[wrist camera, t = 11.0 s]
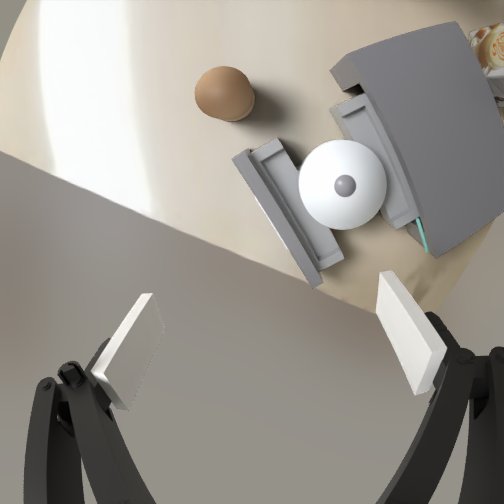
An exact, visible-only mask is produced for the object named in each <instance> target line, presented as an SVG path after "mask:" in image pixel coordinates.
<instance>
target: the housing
mask: <svg viewBox="0 0 504 504" xmlns="http://www.w3.org/2000/svg"><path fill="white" fill-rule="evenodd" d="M330 72H331V74H332V75H333V77H334V78H335V80H336V81H337V83H338V84H339V86H340V88H341V89H342V91H345V90H347V89H349V88H351V87H353V86H355V85H357V84H359V83H360V85H361V87H362V89H363V90H364V92H365V94H366V95H367V97H368V99H369V101H370V103H371V104H372V106H373V108H374V110H375V112H376V114H377V115H378V117H379V119H380V121H381V123H382V125H383V127H384V129H385V131H386V133H387V135H388V137H389V140H390V142H391V144H392V146H393V148H394V150H395V153H396V155H397V157H398V160H399V162H400V164H401V167H402V169H403V171H404V174H405V176H406V179H407V182H408V184H409V187H410V189H411V192H412V195H413V198H414V200H415V203H416V206H417V209H418V212H419V215H420V217H418V218H415V219H414V220H413V221H411V222H409V223H407V224H406V227H407V230H408V233H409V235H411V236H412V237H413V238H414V239H415V240H416V241H418V242H419V243H420V244H421V245H422V246H423V247H424V248H425V251H426V252H427V253H428V252H430V253H431V254H432V255H433V256H434V257H435V258H438V257H440V256H441V255H443V254H444V253H446V252H447V251H449V250H450V249H452V248H453V247H455V246H456V245H458V244H459V243H461V242H462V241H464V240H465V239H467V238H468V237H470V236H471V235H473V234H474V233H475V232H477V231H478V230H480V229H481V228H482V227H484V226H485V225H487V224H488V223H489V222H491V221H492V220H493V219H495V218H496V217H497V216H499V215H500V214H501V213H503V212H504V126H503V122H502V119H501V116H500V113H499V110H498V107H497V104H496V102H495V99H494V96H493V94H492V91H491V89H490V86H489V84H488V81H487V79H486V77H485V74H484V72H483V70H482V68H481V66H480V64H479V61H478V59H477V57H476V55H475V53H474V51H473V50H472V48H471V46H470V44H469V42H468V40H467V38H466V37H465V35H464V33H463V31H462V30H461V28H460V26H459V25H458V23H457V22H456V21H454V22H449V23H444V24H440V25H435V26H431V27H427V28H423V29H420V30H416V31H412V32H409V33H405V34H402V35H399V36H395V37H392V38H389V39H386V40H383V41H380V42H377V43H375V44H372V45H369V46H366V47H364V48H361V49H359V50H356V51H353V52H351V53H348V54H346V55H345V56H344V57H343V58H342V59H341V60H340V61H339V62H338V63H337V64H336V65H335V66H334V67H333V68H332V69H331V70H330Z"/></svg>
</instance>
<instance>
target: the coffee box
mask: <svg viewBox="0 0 504 504" xmlns="http://www.w3.org/2000/svg"><path fill="white" fill-rule="evenodd" d="M469 44H470V46H471V48H472V50H473V51H474V53H475V55H476V57H477V59H478V61H479V64H480V66H481V68H482V70H483V72H484V74H485V77H486V79H487V81H488V84H489V86H490V89H491V91H492V94H493V96H494V99H495V102H496V104H497V107H504V23H500V24H496V25H492V26H489V27H485V28H482V29H479V30H475V31H473V32H470V36H469Z"/></svg>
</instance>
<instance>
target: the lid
mask: <svg viewBox="0 0 504 504" xmlns="http://www.w3.org/2000/svg"><path fill="white" fill-rule="evenodd" d="M386 189H387V180H386V174H385V170H384V168H383V165H382V163H381V161H380V160H379V158H378V157H377V156H376V155H375V154H374V152H373V151H371V150H370V149H369V148H367V147H366V146H364V145H362V144H360V143H358V142H354V141H349V140H330V141H327V142H324V143H322V144H320V145H318V146H316V147H315V148H314V149H313V150H311V151H310V152H309V153H308V155H307V156H306V157H305V159H304V160H303V162H302V164H301V167H300V170H299V174H298V190H299V194H300V197H301V199H302V202H303V204H304V206H305V208H306V209H307V211H308V212H309V214H310V215H311V216H312V217H313V218H314V219H315V220H316V221H318V222H319V223H321V224H323V225H325V226H327V227H330V228H333V229H340V230H346V229H353V228H356V227H359V226H361V225H363V224H365V223H366V222H368V221H369V220H370V219H372V218H373V217H374V216H375V215H376V213H377V212H378V211H379V209H380V208H381V206H382V204H383V201H384V199H385V195H386Z"/></svg>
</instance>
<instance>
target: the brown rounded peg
mask: <svg viewBox="0 0 504 504" xmlns="http://www.w3.org/2000/svg"><path fill="white" fill-rule="evenodd" d="M195 100H196V103H197V105H198V107H199V108H200V109H201V110H202V111H203V112H204V113H205V114H207V115H208V116H211V117H214V118H217V119H221V120H225V121H230V122H234V121H239V120H242V119H244V118H245V117H247V116H248V115H249V114H250V113H251V111H252V110H253V107H254V104H255V96H254V93H253V90H252V88H251V85H250V82H249V80H248V79H247V77H246V76H245V75H244V74H243V73H242V72H241V71H239V70H237V69H235V68H232V67H226V66H223V67H217V68H213V69H211V70H209V71H207V72H206V73H205V74H204V75H203V76H202V77H201V78H200V79H199V81H198V83H197V85H196V88H195Z"/></svg>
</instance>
